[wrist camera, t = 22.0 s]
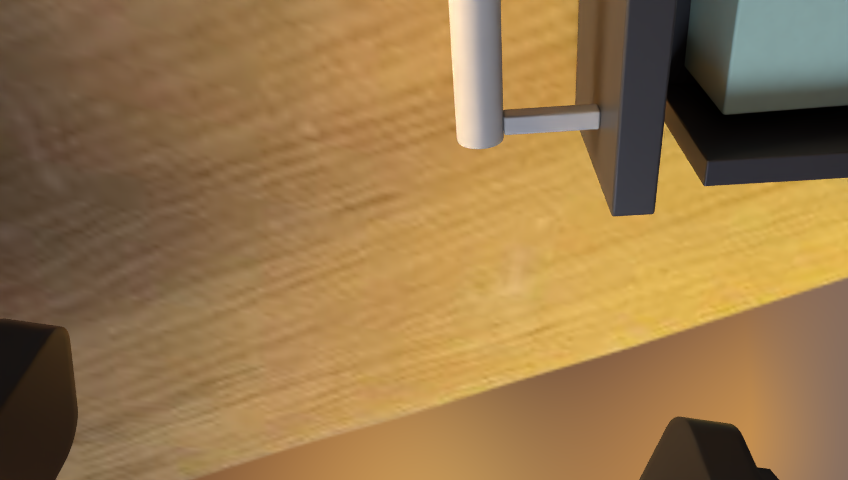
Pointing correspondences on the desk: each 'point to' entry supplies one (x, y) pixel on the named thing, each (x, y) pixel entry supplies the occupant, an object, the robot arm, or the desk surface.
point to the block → (769, 53)
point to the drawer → (639, 105)
